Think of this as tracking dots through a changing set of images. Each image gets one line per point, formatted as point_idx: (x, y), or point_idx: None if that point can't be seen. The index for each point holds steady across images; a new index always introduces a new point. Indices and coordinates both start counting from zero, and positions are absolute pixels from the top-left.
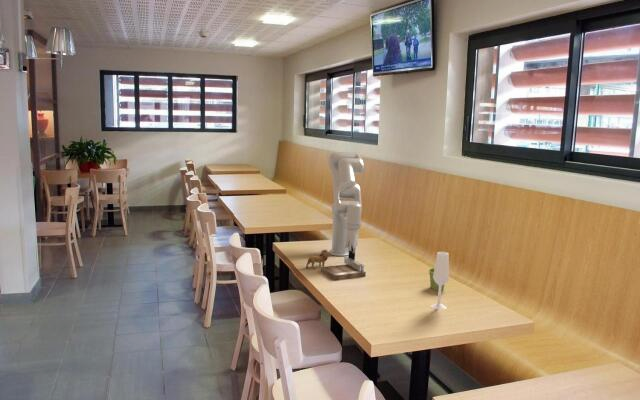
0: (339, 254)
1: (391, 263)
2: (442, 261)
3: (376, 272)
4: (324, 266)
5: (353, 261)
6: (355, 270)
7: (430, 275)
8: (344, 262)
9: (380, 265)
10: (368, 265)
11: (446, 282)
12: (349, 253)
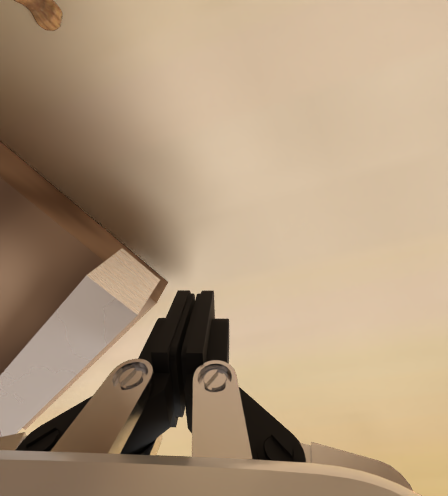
0: None
1: (405, 478)
2: None
3: (168, 434)
4: (45, 19)
5: (5, 396)
6: (2, 371)
7: None
8: (115, 255)
9: (335, 436)
10: (307, 378)
11: None
12: (156, 354)
